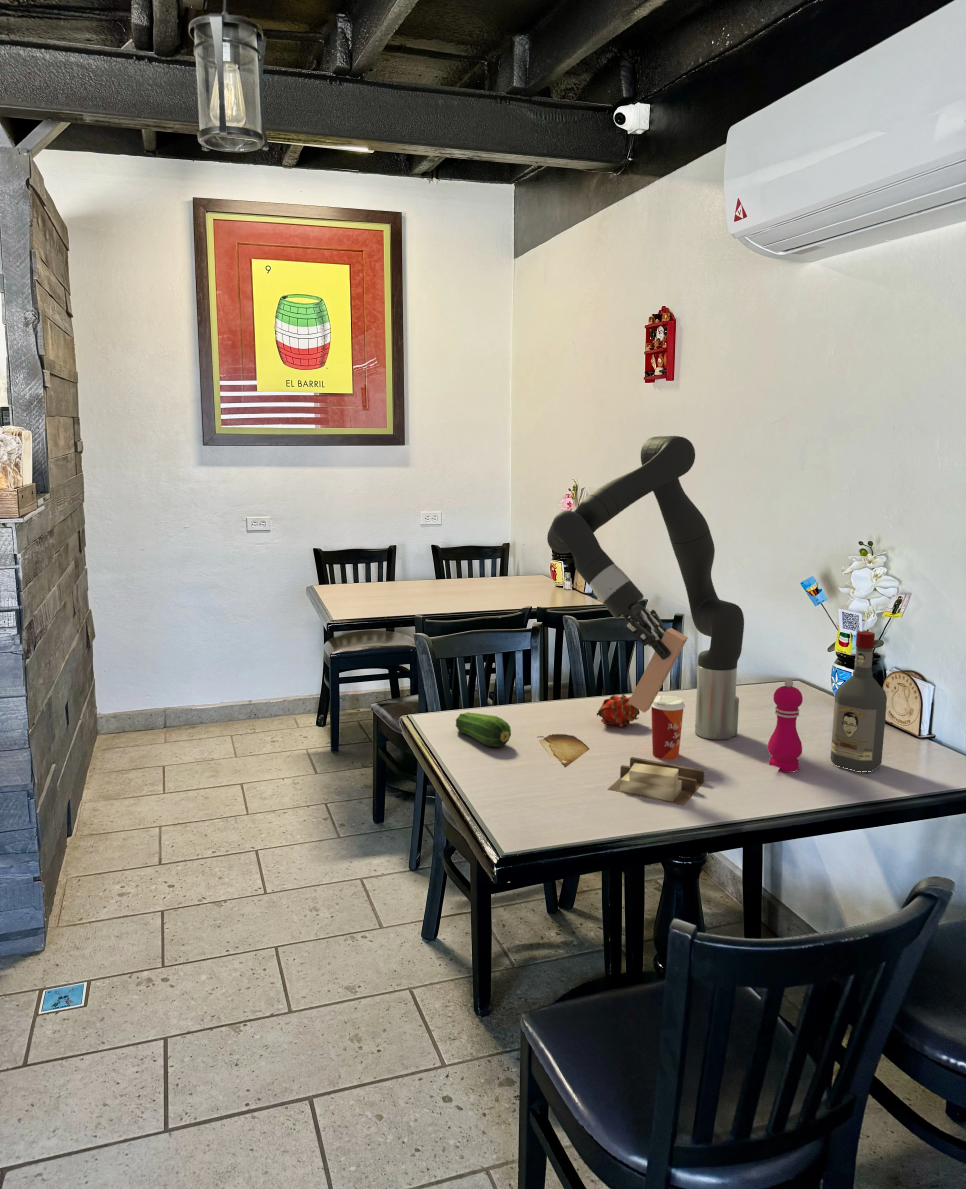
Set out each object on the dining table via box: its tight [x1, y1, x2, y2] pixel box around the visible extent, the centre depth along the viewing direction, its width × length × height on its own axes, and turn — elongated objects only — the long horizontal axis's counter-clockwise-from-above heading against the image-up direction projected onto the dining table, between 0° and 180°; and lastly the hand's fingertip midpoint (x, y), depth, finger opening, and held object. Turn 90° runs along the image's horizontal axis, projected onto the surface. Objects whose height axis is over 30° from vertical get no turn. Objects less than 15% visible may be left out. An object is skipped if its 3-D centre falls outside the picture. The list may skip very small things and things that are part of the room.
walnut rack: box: [607, 756, 706, 806], centre depth 183 cm, size 16×14×4 cm
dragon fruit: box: [596, 693, 640, 728], centre depth 224 cm, size 8×8×12 cm
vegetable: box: [455, 712, 512, 749], centre depth 213 cm, size 7×7×20 cm
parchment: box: [536, 733, 590, 768], centre depth 205 cm, size 25×10×1 cm, turn 10°
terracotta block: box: [628, 627, 689, 714], centre depth 183 cm, size 4×3×18 cm
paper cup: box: [650, 694, 686, 761], centre depth 199 cm, size 8×8×14 cm
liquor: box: [830, 630, 888, 772], centre depth 194 cm, size 9×9×30 cm
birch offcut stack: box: [620, 763, 682, 802], centre depth 180 cm, size 11×6×5 cm, turn 60°
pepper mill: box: [767, 679, 804, 773], centre depth 194 cm, size 7×7×20 cm
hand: (670, 654), depth 181 cm, fingers closed on terracotta block, 3 cm apart
